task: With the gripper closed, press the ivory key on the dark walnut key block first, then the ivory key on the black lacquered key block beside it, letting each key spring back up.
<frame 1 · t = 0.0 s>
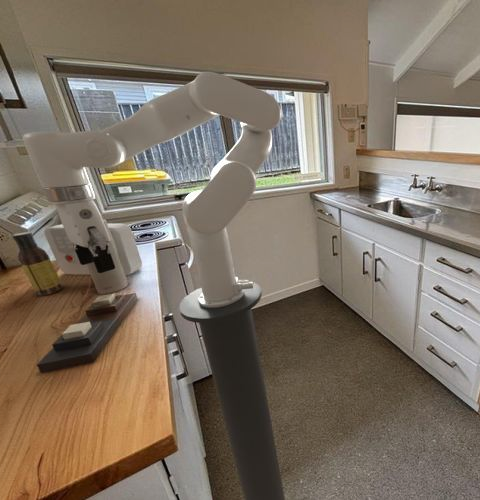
hand: (98, 266, 67), 17 cm above the counter, tool pointing down, fingers open, 9 cm apart
rounded white slab: (103, 272, 106), on the counter
black key block: (84, 346, 66), on the counter
low key: (104, 300, 77), point 4 cm above the counter, slide at 0.1 cm
walnut key block: (110, 314, 78), on the counter
sauce bottle: (50, 291, 92), on the counter
thermos bottle: (113, 288, 93), on the counter
high key: (77, 330, 64), point 4 cm above the counter, slide at 0.1 cm
flower pot: (126, 253, 124), on the counter
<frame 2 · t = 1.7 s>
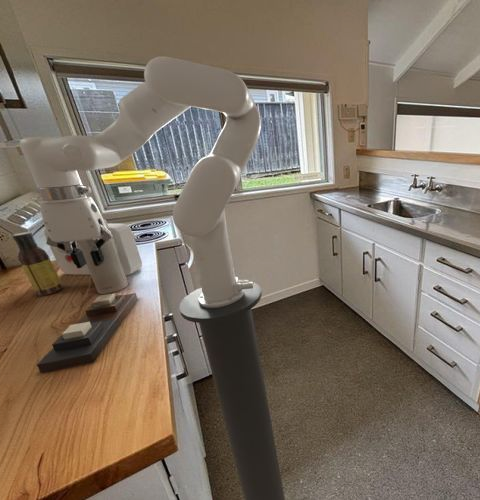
hand: (90, 264, 73), 15 cm above the counter, tool pointing down, fingers open, 3 cm apart
nothing on the counter moved.
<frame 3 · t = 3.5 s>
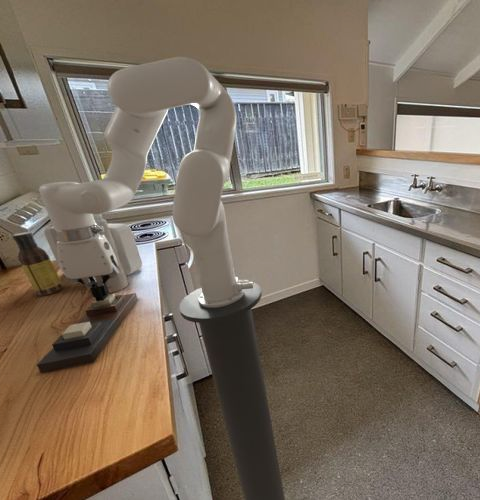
hand: (102, 298, 76), 5 cm above the counter, tool pointing down, fingers closed
low key: (104, 300, 77), point 4 cm above the counter, slide at 0.0 cm, touching gripper
everything else where it was.
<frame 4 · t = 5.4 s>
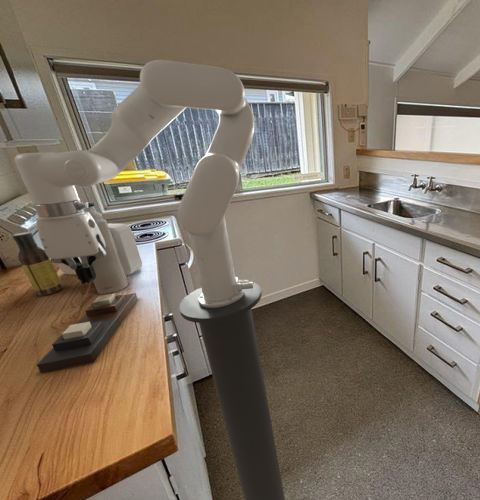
hand: (89, 281, 71), 12 cm above the counter, tool pointing down, fingers closed
low key: (104, 300, 77), point 4 cm above the counter, slide at 0.1 cm
everything else where it was.
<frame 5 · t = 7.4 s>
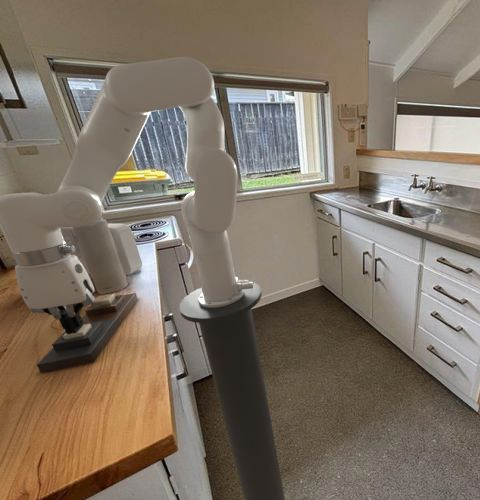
hand: (75, 329, 64), 5 cm above the counter, tool pointing down, fingers closed
high key: (78, 332, 64), point 4 cm above the counter, slide at -0.5 cm, touching gripper
everything else where it was.
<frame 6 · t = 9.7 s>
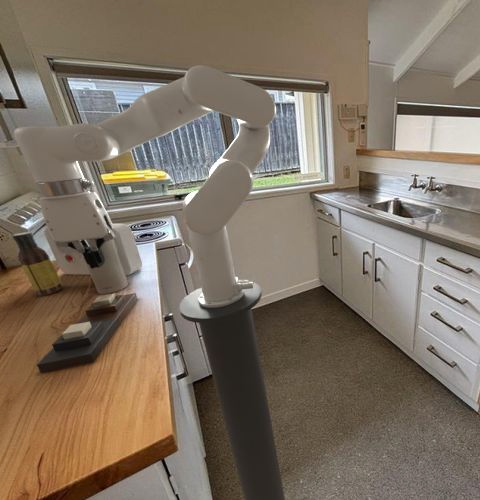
hand: (98, 265, 68), 17 cm above the counter, tool pointing down, fingers closed
high key: (77, 330, 64), point 4 cm above the counter, slide at 0.1 cm
everything else where it was.
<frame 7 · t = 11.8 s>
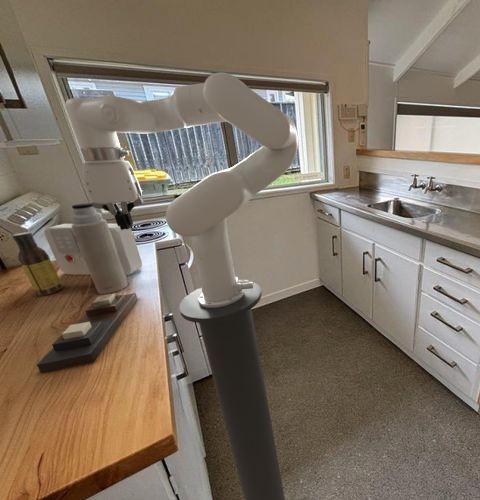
hand: (126, 228, 75), 23 cm above the counter, tool pointing down, fingers closed
nothing on the counter moved.
at the end: low key pushed in 1.3 cm at the most during the clip, back to where it started at the end; high key pushed in 1.2 cm at the most during the clip, back to where it started at the end; high key slide at 0.1 cm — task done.
